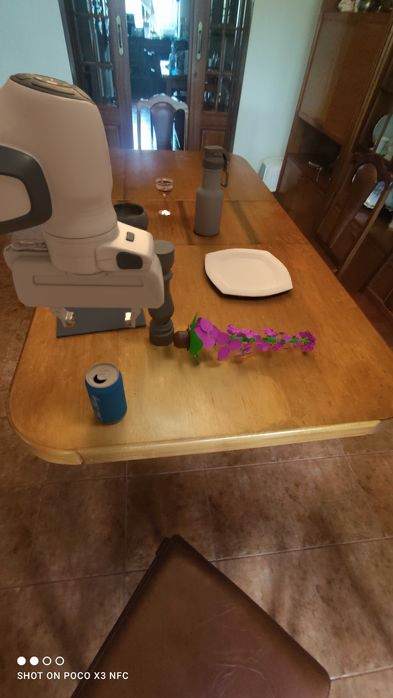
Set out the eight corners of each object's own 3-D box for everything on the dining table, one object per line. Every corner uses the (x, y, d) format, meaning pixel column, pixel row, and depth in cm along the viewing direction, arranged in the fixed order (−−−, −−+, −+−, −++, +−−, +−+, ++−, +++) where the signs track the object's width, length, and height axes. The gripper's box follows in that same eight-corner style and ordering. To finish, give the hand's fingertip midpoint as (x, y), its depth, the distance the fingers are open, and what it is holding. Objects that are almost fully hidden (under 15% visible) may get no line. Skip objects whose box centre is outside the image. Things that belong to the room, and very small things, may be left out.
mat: (56, 337, 77) (56, 336, 77) (58, 298, 88) (57, 296, 87) (146, 326, 82) (146, 324, 82) (138, 289, 93) (137, 288, 92)
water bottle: (214, 223, 126) (223, 142, 106) (224, 235, 120) (236, 151, 100) (190, 226, 123) (194, 143, 103) (199, 238, 117) (206, 152, 97)
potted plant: (168, 353, 81) (293, 352, 89) (178, 377, 66) (328, 372, 73) (170, 305, 78) (299, 308, 85) (180, 318, 62) (337, 319, 70)
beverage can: (87, 416, 63) (75, 379, 54) (108, 393, 67) (99, 355, 59) (114, 431, 61) (105, 395, 53) (133, 406, 65) (128, 369, 57)
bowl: (105, 228, 117) (101, 201, 110) (145, 226, 120) (144, 199, 113) (108, 249, 107) (104, 220, 100) (152, 246, 111) (151, 217, 104)
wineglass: (166, 207, 133) (166, 176, 125) (176, 213, 130) (176, 182, 121) (153, 210, 130) (152, 179, 122) (162, 217, 127) (162, 185, 118)
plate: (269, 251, 114) (271, 246, 112) (302, 297, 96) (304, 292, 94) (196, 255, 108) (197, 250, 107) (216, 304, 91) (217, 299, 89)
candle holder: (177, 333, 81) (180, 242, 63) (168, 349, 77) (169, 257, 59) (155, 327, 82) (151, 236, 64) (145, 342, 78) (138, 250, 60)
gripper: (-12, 254, 37) (26, 338, 47) (163, 258, 39) (164, 338, 49) (6, 229, 41) (37, 311, 51) (164, 234, 43) (164, 312, 53)
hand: (100, 324), depth 50 cm, fingers open, 8 cm apart
